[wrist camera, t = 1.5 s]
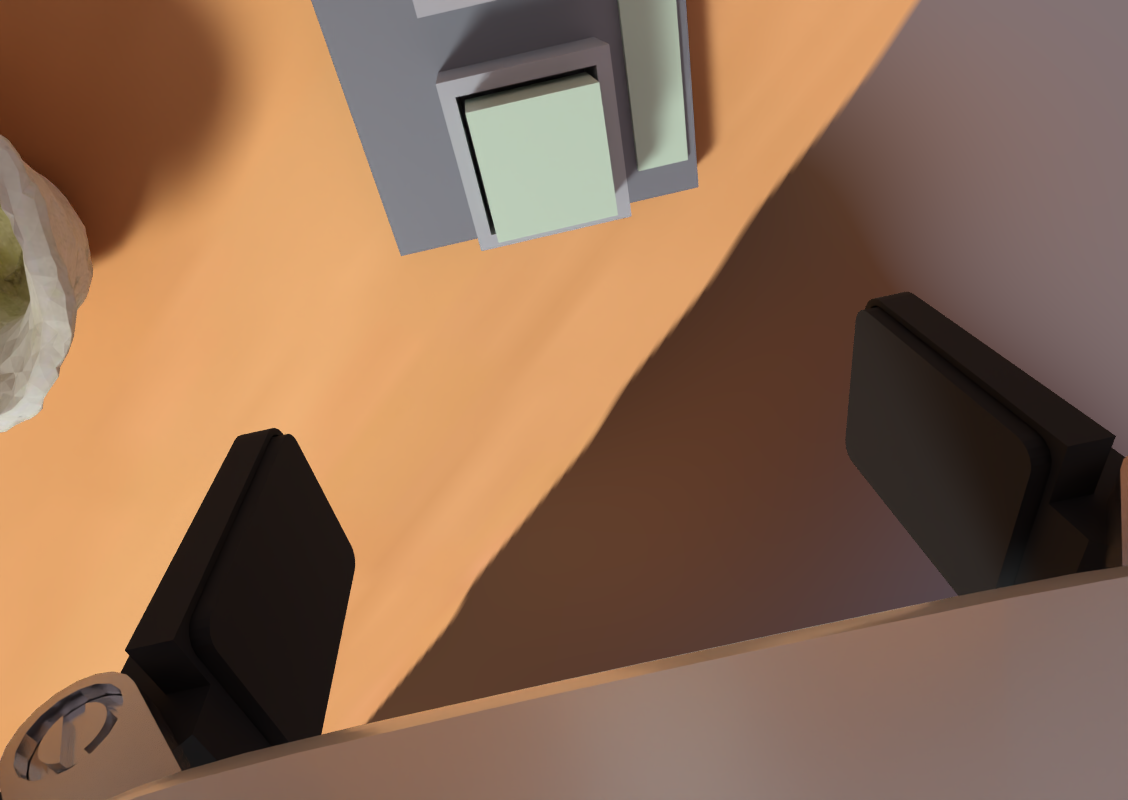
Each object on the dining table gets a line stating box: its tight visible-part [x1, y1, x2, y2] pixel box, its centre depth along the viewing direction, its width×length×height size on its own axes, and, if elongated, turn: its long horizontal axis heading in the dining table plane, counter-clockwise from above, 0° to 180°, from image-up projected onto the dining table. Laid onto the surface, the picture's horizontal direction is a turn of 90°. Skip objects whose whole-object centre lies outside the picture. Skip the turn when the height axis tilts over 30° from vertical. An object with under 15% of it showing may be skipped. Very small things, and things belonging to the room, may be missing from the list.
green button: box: [465, 72, 618, 243], centre depth 26 cm, size 5×5×3 cm
